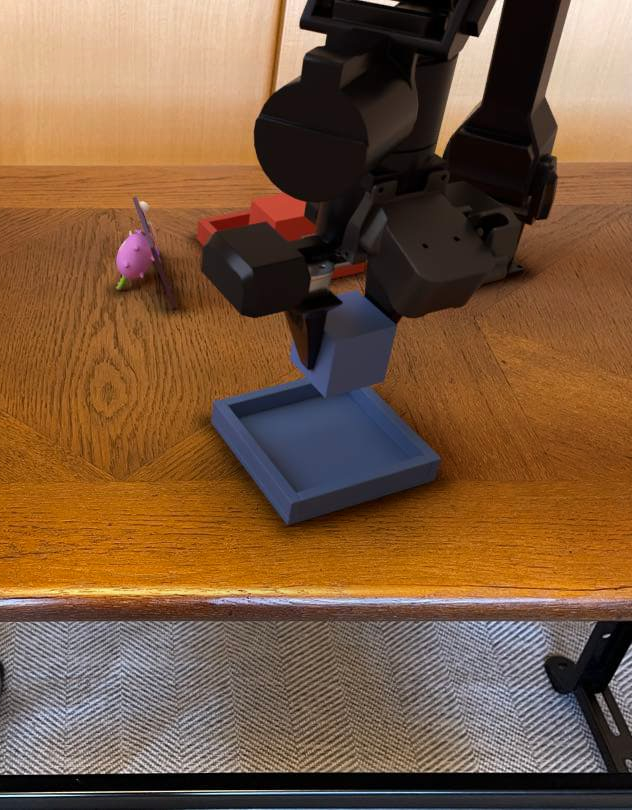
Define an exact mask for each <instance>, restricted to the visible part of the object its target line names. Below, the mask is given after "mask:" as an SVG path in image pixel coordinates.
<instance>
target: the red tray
mask: <svg viewBox="0 0 632 810" xmlns="http://www.w3.org/2000/svg"><path fill="white" fill-rule="evenodd" d="M250 210H251V208H250V209H245V210H241V211H235V212H229V213H223V214H219V215H215V216H209V217H206V218H199V219H197V230H196V240H197V241H198V242H199V243H200V244H201V246H202V247H204V245H205V242H206V240H207V238H208V237H210V236H211V235H212V234H213V233H215V232H216V231H221V230H226V229H231V228H236V227H241V226H245V225H249V219H250ZM366 264H367V262H364V263H359V264H355V265H349V266H345V267H340V268H336V269H334V274H333V275H332V277H331V280H334V279H339V278H342V277H347V276H352V275H355V274H359V273H364V272H365V269H366V268H365V267H366Z"/></svg>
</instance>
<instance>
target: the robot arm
mask: <svg viewBox="0 0 632 810" xmlns="http://www.w3.org/2000/svg"><path fill="white" fill-rule="evenodd" d="M390 1H391V2H397V3H396V4H395V5H394V6H393V5H389V4H384V3H383V4H382V3H378V2H373V1H366V0H306V3H305V5H304V8H303V10H302V13H301V16H300V18H299V23H298V27H299V30H303V31H307V32H312V33H316V34H323V35H326V36H325V42H324V45H317V46H315V47H313V48H312V49H310V50H308V51H307V52H306V53H305V54H304V56H303V58H302V64H301V71H300V74H299V76H297V77H295V78H294V79H292V80H291V81H289V82H287V83H286V84H284V85H282V86H281V87H280V88H278V89H276V91H274V92H273V93H271V95H270V96H269V98H267V100H266V101H265V102H264V104H263V105H262V108H261V109H260V112H259V113H258V116H257V117H256V119H255V122H254V127H253V147H254V150H255V155H256V159H257V161H258V163H259V165H260V167H261V169H262V172H263V173H264V175H265V176H266V177H267V178H268V180H269V181H270V182H271V184H273V185H274V186H275V187H276V188H277V189H278V190H279V191H281V193H285V194H287V195H289V196H291V197H293V198H294V199H297V200H300V201H304V202H306V205H305V212H304V216H305V217H306V218H307V219H308V220H309V221H311V222H312V223H313V224H314V225H315V234H311V235H306V236H303V237H302V238H301V239H297V240H292V241H287V240H286V239H285V238H284V237H283V236H282V235H281V234H280V233H279V232H278V231H276V230H275V229H274V228H273V227H272V226H271V225H270V224H269V223H268V222H267V221H265V222H260V223H255V224H250V225H245V226H241V227H236V228H231V229H226V230H221V231H216V232H215V233H213V234H212V235H211V236H210V237H208V238H207V240H206V242H205V245H204V246H202V254H201V255H202V256H201V270H200V272H201V273H202V274H203V275H204V276H205V277H206V278H207V280H208V281H209V282H210V283H211V284H212V285H213V286H214V287H215V288H216V289H217V290H218V292H219V293H220V294H221V295H222V296H223V297H224V298H225V299H226V300H227V302H228V303H230V305H231V306H232V307H233V308H234V309H235V310H236V311H237V313H239V314H240V316H243V317H248V318H251V319H258V318H262V317H266V316H271V315H274V314H279V313H283V314H284V316H285V319H286V321H287V325H288V328H289V331H290V334H291V337H292V339H293V340H294V343H295V346H296V350H297V353H298V356H299V359H300V361H301V363H302V364H303V365H304V367H305V368H306V369H307V370H312V369H314V366H315V363H316V360H317V358H318V355H319V352H320V348H321V343H322V338H323V333H324V328H325V323H326V318H327V313H328V311H330V310H332V309H334V308H336V307H338V306H340V305H342V303H343V302H342V301H341V300H340V299H339V298H338V297H337V296H336V295H337V294H335V293H334V292H333V290H331V289H330V286H331V283H332V279H331V277H332V275H333V274H334V269H336V268H340V267H345V266H349V265H355V264H359V263H364V262H366V274H365V283H364V284H365V286H364V295H363V296H364V297H365V298H366V299H368V300H369V301H370V302H371V303H372V304H373V305H374V306H375V307H377V308H378V309H379V310H380V311H381V312H382V313H383V314H385V315H386V316H387V317H388V318H389V319H390V320H391V321H392V322H394V323H395V324H396V325H397V326H398V324H399V322H400V321H401V320H402V318H407V319H419V318H423V317H426V316H427V315H429V314H432V313H436V312H437V313H438V312H441V311H445V310H448V309H454V310H456V309H459V308H463V307H465V306H466V305H467V304H468V302H470V300H471V299H472V297H473V296H474V295H475V293H476V292H477V291H478V290H479V288H480V287H481V286H482V284H487V283H491V282H495V281H499V280H503V279H505V278H508V277H512V276H513V277H514V276H517V275H520V274H524V273H525V269H526V266H525V265H523V264H522V263H521V262H519V261H518V260H516V259H515V256H516V253H517V250H518V248H519V245H520V241H521V238H522V235H523V231H524V229H525V226H526V225H527V226H531V227H532V226H533V225H534V223H535V222H536V221H546V220H548V218H549V217H550V214H551V211H552V208H553V205H554V202H555V198H556V194H557V187H558V181H559V175H558V173H557V171H558V169H557V167H558V156H556V155H552V154H553V151H554V150H553V149H554V146H555V142H556V137H557V133H558V130H559V126H558V123H557V120H556V118H555V116H554V113H553V111H552V109H551V107H550V104H549V102H548V100H547V97H546V95H547V90H548V86H549V83H550V78H551V77H552V76H551V75H552V71H553V68H554V65H555V60H556V57H557V54H558V49H559V46H560V43H561V38H562V34H563V31H564V29H565V28H564V27H565V24H566V20H567V16H568V13H569V9H570V6H571V1H572V0H503V1H502V6H501V10H500V17H499V20H498V26H497V29H496V34H495V39H494V43H493V48H492V53H491V56H490V57H491V58H490V62H489V68H488V70H487V76H486V80H485V85H484V89H483V94H482V99H481V100H480V101H479V102H478V103H476V104H475V105H474V107H473V108H472V110H471V111H470V112H469V114H468V115H466V118H465V119H464V120H463V121H462V122H461V123H460V125H459V126H458V127H457V129H456V130H455V131H454V132H453V133H452V134H451V136H450V137H449V139H448V141H447V143H446V144H445V145H446V146H445V148H444V150H443V152H442V156H440V155H439V154H437V153H436V150H437V145H438V141H439V137H440V133H441V128H442V124H443V120H444V116H445V112H446V108H447V105H448V104H447V103H448V100H449V97H450V92H451V89H452V88H451V87H452V85H453V84H452V83H453V80H454V75H455V72H456V67H457V63H458V59H459V54H460V52H462V51H463V49H464V48H465V46H466V44H467V42H468V40H469V38H470V37H474V38H480V37H481V34H482V32H483V30H484V27H485V25H486V23H487V21H488V19H489V17H490V15H491V13H492V11H493V9H494V7H495V5H496V3H497V1H498V0H390Z"/></svg>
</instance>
